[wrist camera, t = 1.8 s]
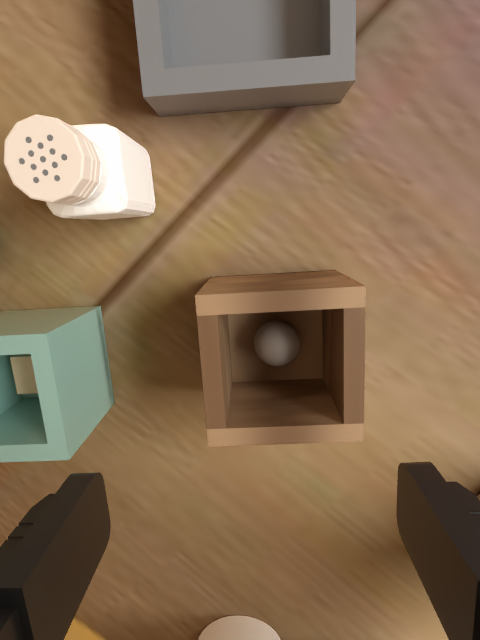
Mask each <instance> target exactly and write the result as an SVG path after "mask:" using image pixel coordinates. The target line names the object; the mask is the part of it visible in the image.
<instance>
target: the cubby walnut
mask: <svg viewBox="0 0 480 640" xmlns="http://www.w3.org/2000/svg"><path fill="white" fill-rule="evenodd" d="M365 293H366V286H364V285H362V284H361V283H359V282H357V281H355V280H353V279H351V278H349V277H347V276H346V275H344V274H342V273H340V272H338V271H336V270H327V271H310V272H292V273H274V274H256V275H238V276H221V277H210V279H209V280H208V281H207V282H206V283H205V284H204V285H203V287H202V288H201V289H200V290H199V291H198V292H197V294H196V295H195V303H196V314H197V325H198V337H199V348H200V359H201V371H202V382H203V394H204V405H205V416H206V428H207V439H208V447H214V446H243V445H271V444H300V443H329V442H357V441H364V371H365Z"/></svg>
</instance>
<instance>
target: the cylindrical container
mask: <svg viewBox="0 0 480 640" xmlns="http://www.w3.org/2000/svg"><path fill="white" fill-rule="evenodd" d="M198 640H280V637H279V636H278V634H277V633H276V631H275V630H274V629H273V628H272V627H270V626H269V625H268V624H266V623H265V622H263V621H261V620H258V619H256V618H252V617H248V616H239V615H236V616H227V617H223V618H220V619H218V620H216V621H214V622H212V623H211V624H209V625H208V626H207V627H206V628H205V629H204V630H203V631H202V633H201V634H200V636H199V639H198Z"/></svg>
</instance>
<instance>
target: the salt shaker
mask: <svg viewBox="0 0 480 640" xmlns="http://www.w3.org/2000/svg"><path fill="white" fill-rule="evenodd" d="M4 165H5V167H6V169H7V171H8V173H9V176H10V178H11V180H12V182H13V184H14V185H15V186H16V187H17V188H18V189H20V190H21V191H22V192H23V193H25V194H26V195H27V196H28V197H29V198H31V199H34V200H40V201H45V202H46V204H47V206H48V208H49V209H50V210H51V212H52V213H53V214H54V215H56V216H58V217H61V218H73V219H94V220H108V219H120V218H131V217H143V216H148V215H150V214H152V213H154V209H155V197H154V189H153V181H152V173H151V165H150V156H149V155H148V153H147V151H146V149H145V148H143V147H142V146H141V145H139V144H138V143H137V142H135V141H134V140H132V139H131V138H130V137H128V136H127V135H125V134H124V133H123V132H121V131H120V130H118V129H117V128H115V127H113V126H110V125H108V124H85V125H72V126H70V125H69V124H67V123H65V122H63V121H61V120H60V119H58V118H53V117H48V116H42V115H37V114H35V115H33V116H31V117H28V118H26V119H24V120H21V121H19V122H16V124H15V125H14V127H13V128H12V130H11V131H10V133H9V135H8V136H7V138H6V139H5V144H4Z"/></svg>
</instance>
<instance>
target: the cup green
mask: <svg viewBox="0 0 480 640" xmlns="http://www.w3.org/2000/svg"><path fill="white" fill-rule="evenodd" d="M114 403H115V402H114V395H113V388H112V381H111V374H110V367H109V360H108V353H107V346H106V339H105V332H104V325H103V319H102V312H101V306H87V307H69V308H50V309H31V310H12V311H0V462H26V461H55V460H70V458H71V457H72V456H73V455H74V453H75V452H76V451H77V450H78V448H79V447H80V446H81V445H82V443H83V442H84V441H85V440H86V438H87V437H88V436H89V435H90V433H91V432H92V431H93V429H94V428H95V427H96V426H97V424H98V423H99V422H100V421H101V419H102V418H103V417H104V416H105V414H106V413H107V412H108V411H109V409H110V408H111V407H112V406H113V404H114Z"/></svg>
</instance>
